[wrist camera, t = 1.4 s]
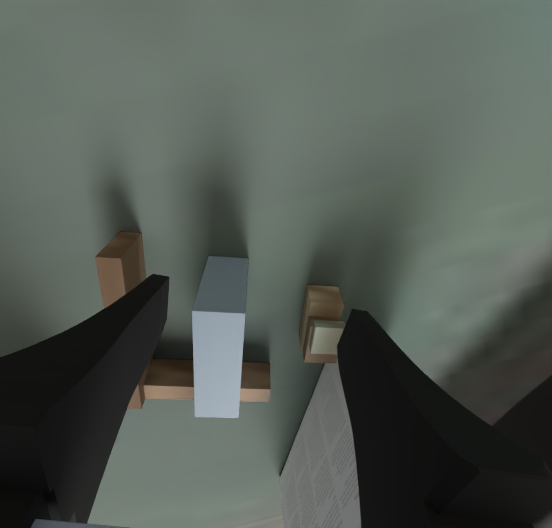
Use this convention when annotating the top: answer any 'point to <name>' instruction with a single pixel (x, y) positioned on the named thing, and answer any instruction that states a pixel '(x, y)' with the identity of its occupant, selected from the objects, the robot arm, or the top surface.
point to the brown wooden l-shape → (159, 372)
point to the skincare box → (322, 463)
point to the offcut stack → (321, 324)
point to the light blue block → (219, 337)
